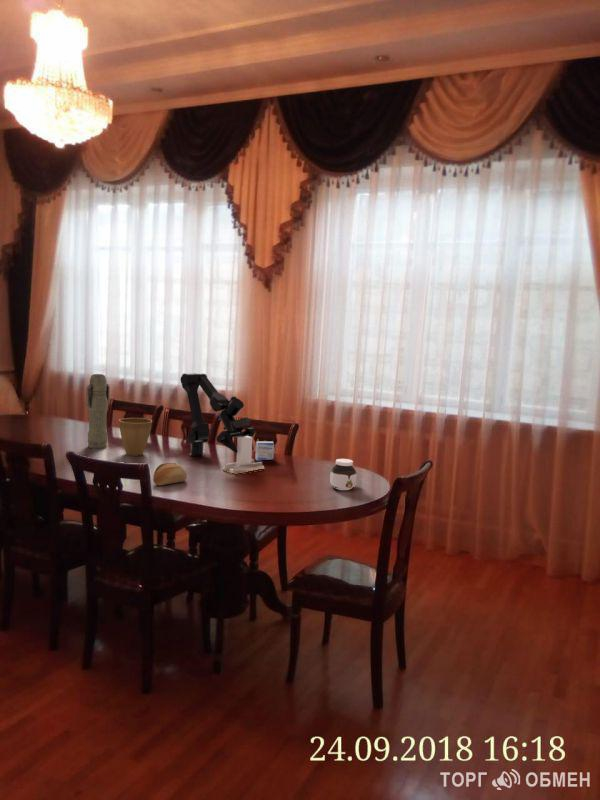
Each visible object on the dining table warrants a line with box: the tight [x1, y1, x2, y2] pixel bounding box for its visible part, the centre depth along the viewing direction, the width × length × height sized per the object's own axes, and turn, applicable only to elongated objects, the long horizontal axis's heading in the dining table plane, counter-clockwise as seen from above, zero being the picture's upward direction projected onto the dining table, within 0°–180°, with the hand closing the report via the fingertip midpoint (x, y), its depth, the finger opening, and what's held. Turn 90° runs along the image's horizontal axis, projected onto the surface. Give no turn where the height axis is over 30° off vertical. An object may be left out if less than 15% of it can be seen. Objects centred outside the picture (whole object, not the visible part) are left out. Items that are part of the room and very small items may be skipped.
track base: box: [222, 459, 265, 475], centre depth 272 cm, size 9×16×3 cm, turn 136°
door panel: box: [235, 436, 253, 466], centre depth 272 cm, size 3×6×13 cm, turn 137°
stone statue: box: [85, 373, 111, 450], centre depth 299 cm, size 9×12×35 cm
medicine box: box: [254, 440, 275, 462], centre depth 293 cm, size 8×4×9 cm, turn 105°
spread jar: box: [329, 458, 357, 488], centre depth 253 cm, size 12×11×12 cm
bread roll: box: [152, 462, 188, 486], centre depth 245 cm, size 10×15×8 cm, turn 143°
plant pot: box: [118, 417, 153, 457], centre depth 290 cm, size 15×15×16 cm
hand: (244, 451), depth 271 cm, fingers open, 9 cm apart
